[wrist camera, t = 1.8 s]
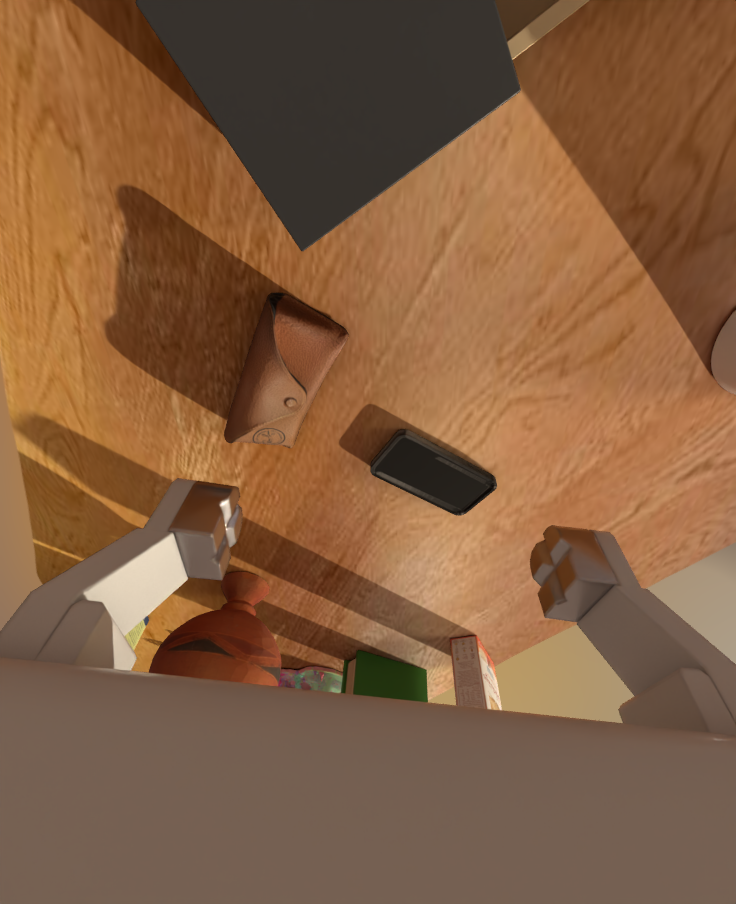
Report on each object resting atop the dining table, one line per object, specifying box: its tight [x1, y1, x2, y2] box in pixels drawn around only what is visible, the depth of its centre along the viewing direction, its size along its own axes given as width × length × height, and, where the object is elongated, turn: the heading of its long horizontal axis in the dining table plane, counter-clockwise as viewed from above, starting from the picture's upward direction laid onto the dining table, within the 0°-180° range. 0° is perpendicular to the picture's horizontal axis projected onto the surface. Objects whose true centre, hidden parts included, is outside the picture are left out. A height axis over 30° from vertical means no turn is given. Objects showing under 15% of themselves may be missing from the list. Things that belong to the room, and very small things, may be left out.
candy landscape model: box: [278, 666, 343, 693], centre depth 98 cm, size 25×24×9 cm
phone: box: [371, 429, 497, 515], centre depth 50 cm, size 8×1×15 cm
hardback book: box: [341, 650, 428, 702], centre depth 82 cm, size 18×7×24 cm, turn 62°
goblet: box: [149, 572, 281, 686], centre depth 62 cm, size 19×19×25 cm
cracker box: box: [450, 635, 502, 710], centre depth 75 cm, size 14×6×21 cm, turn 25°
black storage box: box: [136, 0, 521, 251], centre depth 23 cm, size 15×13×9 cm
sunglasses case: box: [224, 293, 349, 448], centre depth 42 cm, size 18×7×7 cm
